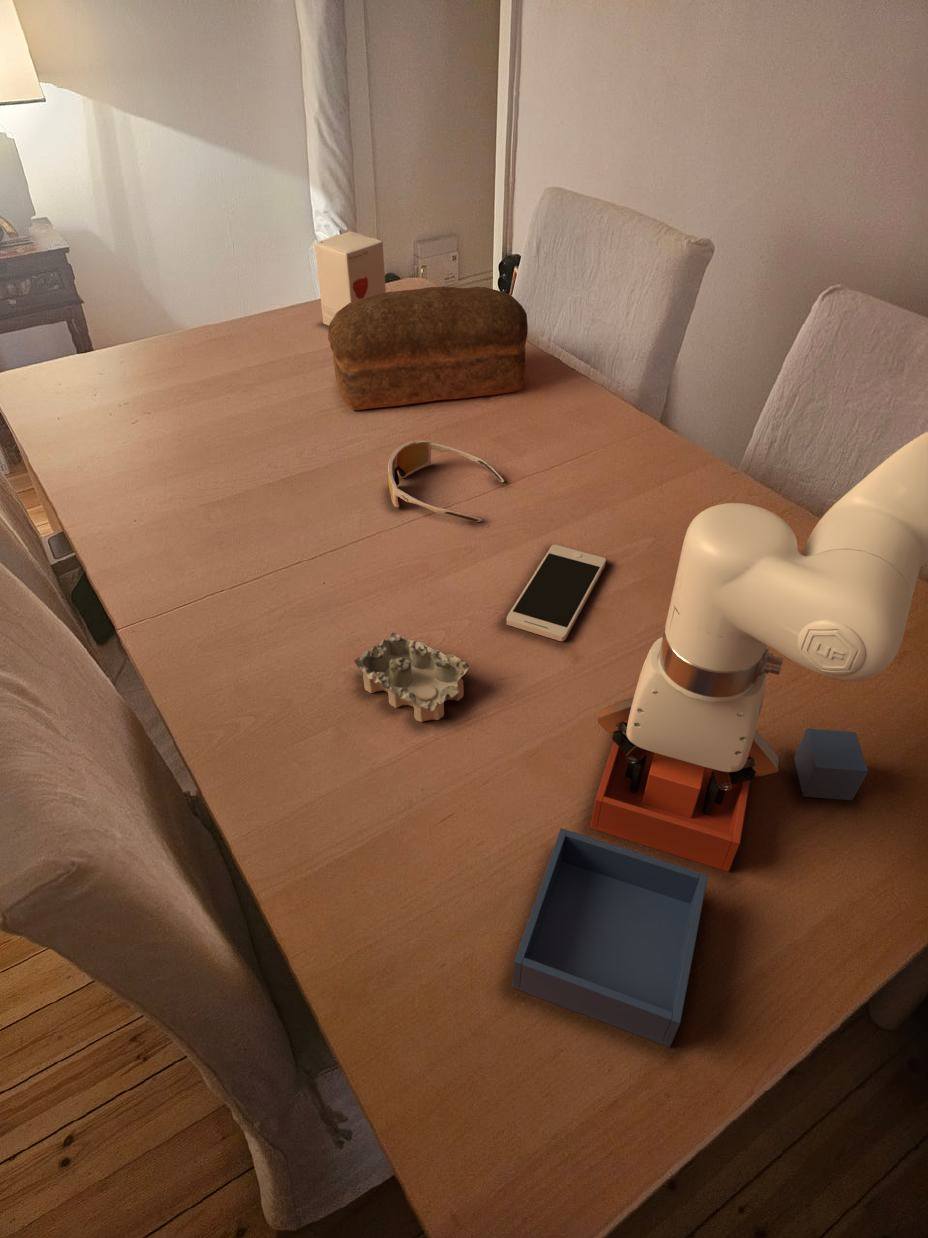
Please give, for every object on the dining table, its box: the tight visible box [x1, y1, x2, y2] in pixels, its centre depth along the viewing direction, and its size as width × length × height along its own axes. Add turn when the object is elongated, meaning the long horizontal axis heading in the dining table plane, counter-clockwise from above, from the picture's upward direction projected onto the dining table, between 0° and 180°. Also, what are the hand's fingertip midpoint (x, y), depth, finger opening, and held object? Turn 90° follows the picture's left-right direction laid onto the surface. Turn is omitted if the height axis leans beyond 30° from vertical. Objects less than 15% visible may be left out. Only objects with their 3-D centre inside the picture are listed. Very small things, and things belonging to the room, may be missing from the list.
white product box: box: [314, 230, 387, 327], centre depth 151 cm, size 9×9×15 cm
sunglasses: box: [387, 439, 505, 523], centre depth 113 cm, size 14×15×5 cm
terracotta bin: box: [590, 720, 753, 873], centre depth 75 cm, size 12×12×4 cm
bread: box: [327, 286, 529, 411], centre depth 132 cm, size 15×32×16 cm, turn 103°
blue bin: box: [511, 827, 709, 1048], centre depth 64 cm, size 12×12×4 cm
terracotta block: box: [642, 753, 705, 818], centre depth 74 cm, size 4×4×4 cm
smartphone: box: [505, 544, 607, 642], centre depth 97 cm, size 7×16×1 cm, turn 155°
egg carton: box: [353, 632, 470, 723], centre depth 85 cm, size 11×8×4 cm
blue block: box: [793, 728, 869, 801], centre depth 76 cm, size 4×4×4 cm
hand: (672, 790), depth 76 cm, fingers open, 6 cm apart
